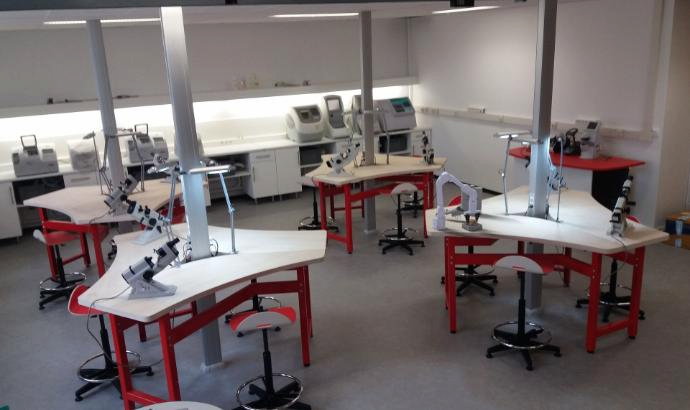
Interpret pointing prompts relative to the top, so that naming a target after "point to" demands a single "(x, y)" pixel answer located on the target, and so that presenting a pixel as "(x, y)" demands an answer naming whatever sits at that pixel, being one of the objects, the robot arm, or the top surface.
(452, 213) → the gun
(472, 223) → the walnut block
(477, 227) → the tray
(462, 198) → the grey upright panel
